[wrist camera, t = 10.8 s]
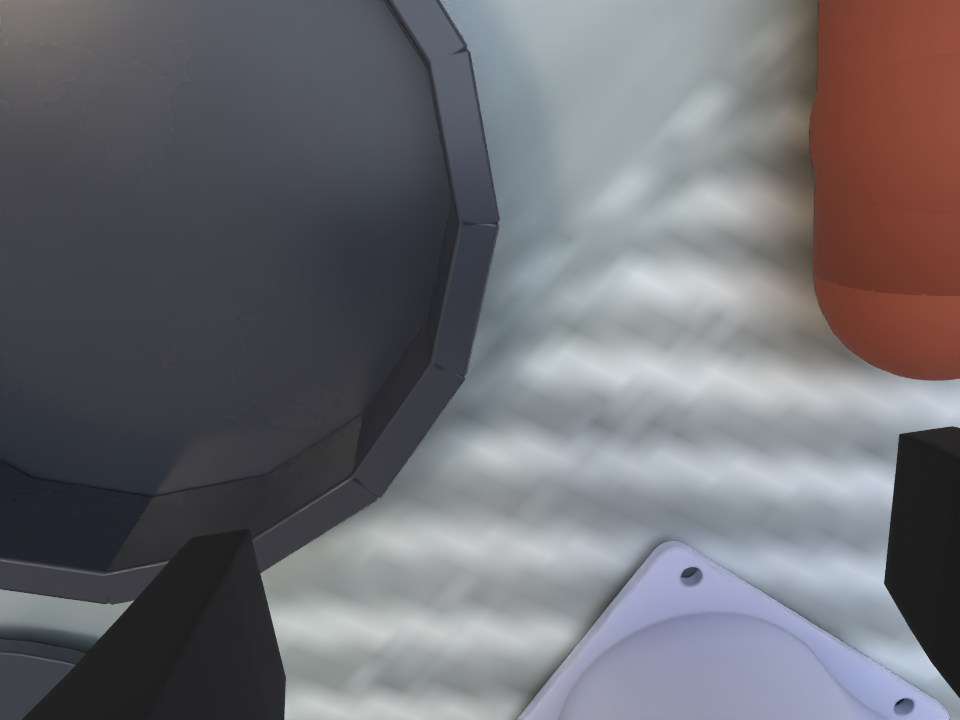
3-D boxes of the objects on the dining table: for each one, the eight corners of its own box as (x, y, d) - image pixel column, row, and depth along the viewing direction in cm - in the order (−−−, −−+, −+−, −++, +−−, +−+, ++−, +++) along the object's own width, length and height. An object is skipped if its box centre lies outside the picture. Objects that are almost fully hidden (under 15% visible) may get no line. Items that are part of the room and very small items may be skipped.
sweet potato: (771, -134, 17) (904, -215, 12) (1016, -157, 17) (1238, -245, 12) (769, 355, 20) (874, 437, 15) (977, 331, 20) (1144, 405, 15)
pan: (614, 100, 18) (661, 104, 14) (257, 614, 21) (225, 718, 17) (-55, -402, 15) (-199, -549, 11) (-363, 289, 18) (-550, 339, 14)
